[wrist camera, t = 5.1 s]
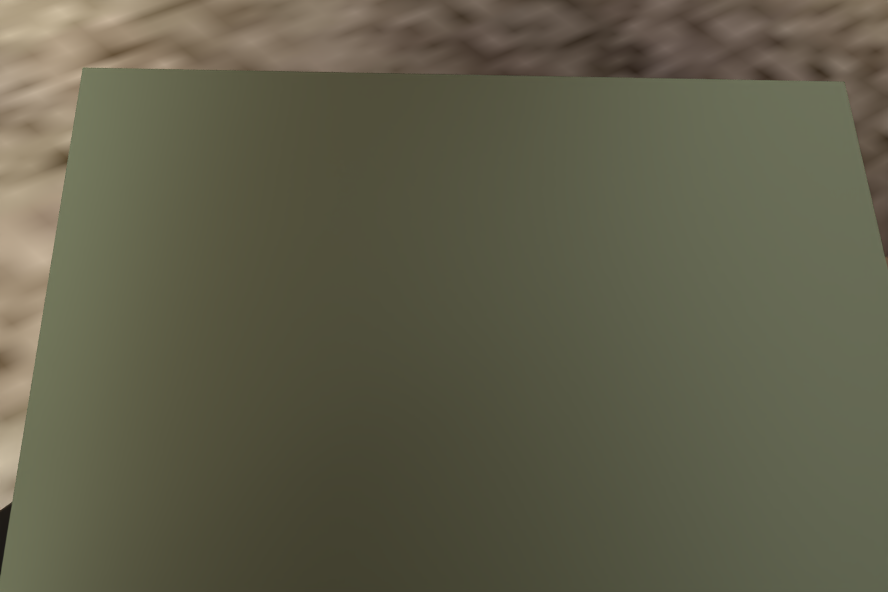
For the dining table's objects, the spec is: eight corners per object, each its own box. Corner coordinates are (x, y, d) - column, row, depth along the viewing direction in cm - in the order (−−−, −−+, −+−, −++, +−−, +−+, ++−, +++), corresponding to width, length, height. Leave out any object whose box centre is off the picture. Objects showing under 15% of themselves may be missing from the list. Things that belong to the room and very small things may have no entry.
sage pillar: (522, 369, 16) (844, 81, 4) (535, 584, 14) (1063, 1029, 3) (324, 372, 15) (82, 66, 4) (316, 592, 14) (-89, 1131, 2)
